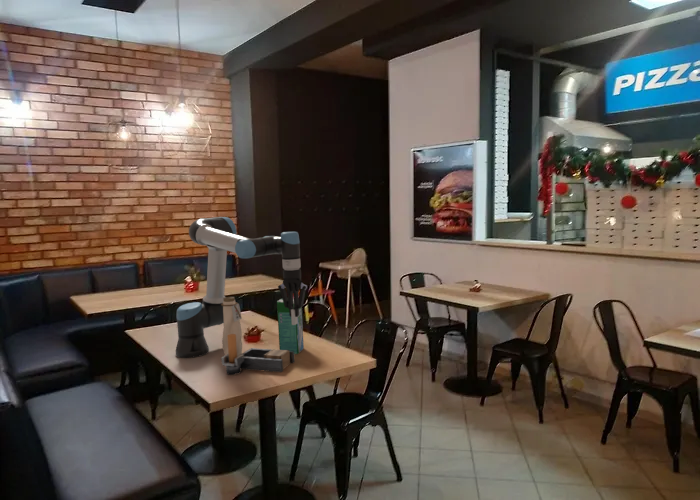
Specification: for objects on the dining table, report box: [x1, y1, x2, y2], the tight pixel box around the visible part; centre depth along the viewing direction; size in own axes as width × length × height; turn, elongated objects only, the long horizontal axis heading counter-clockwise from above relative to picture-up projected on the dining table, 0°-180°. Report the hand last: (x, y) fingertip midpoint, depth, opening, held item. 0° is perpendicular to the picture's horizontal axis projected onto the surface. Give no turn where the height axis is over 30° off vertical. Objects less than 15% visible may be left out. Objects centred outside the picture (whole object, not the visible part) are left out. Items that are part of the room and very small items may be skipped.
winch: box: [221, 354, 244, 376], centre depth 219 cm, size 7×8×7 cm
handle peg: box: [228, 334, 237, 363], centre depth 218 cm, size 3×3×12 cm
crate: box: [264, 348, 291, 370], centre depth 224 cm, size 8×8×6 cm
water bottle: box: [221, 296, 243, 356], centre depth 237 cm, size 10×9×28 cm
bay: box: [237, 347, 296, 373], centre depth 226 cm, size 21×13×5 cm, turn 71°
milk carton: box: [276, 298, 305, 355], centre depth 244 cm, size 9×9×25 cm
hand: (294, 324), depth 219 cm, fingers closed
